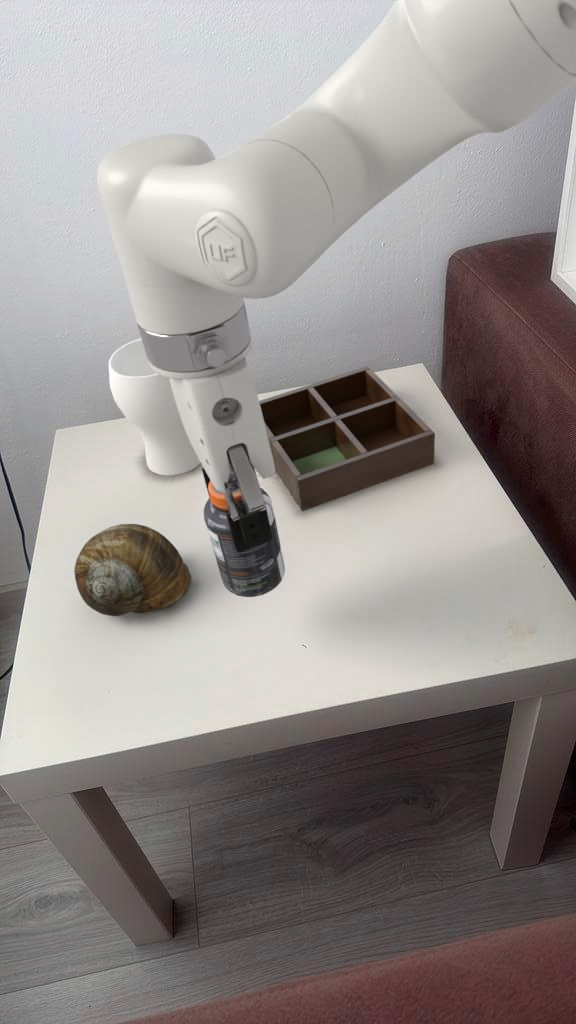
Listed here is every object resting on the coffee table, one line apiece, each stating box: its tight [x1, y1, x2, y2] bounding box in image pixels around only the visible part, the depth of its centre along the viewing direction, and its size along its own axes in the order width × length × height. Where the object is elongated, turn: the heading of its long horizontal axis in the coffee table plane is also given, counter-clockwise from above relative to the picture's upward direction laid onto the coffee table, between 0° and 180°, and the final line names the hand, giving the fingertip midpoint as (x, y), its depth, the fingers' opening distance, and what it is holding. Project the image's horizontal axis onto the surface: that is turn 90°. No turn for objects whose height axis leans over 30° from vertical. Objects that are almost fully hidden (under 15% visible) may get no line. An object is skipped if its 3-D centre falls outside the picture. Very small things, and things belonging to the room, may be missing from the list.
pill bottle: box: [203, 472, 286, 598], centre depth 64 cm, size 6×6×11 cm
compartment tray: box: [259, 365, 436, 512], centre depth 91 cm, size 17×17×5 cm
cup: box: [108, 337, 201, 477], centre depth 90 cm, size 11×11×15 cm
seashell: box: [73, 523, 192, 617], centre depth 76 cm, size 11×9×8 cm
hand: (240, 519), depth 63 cm, fingers closed on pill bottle, 6 cm apart
